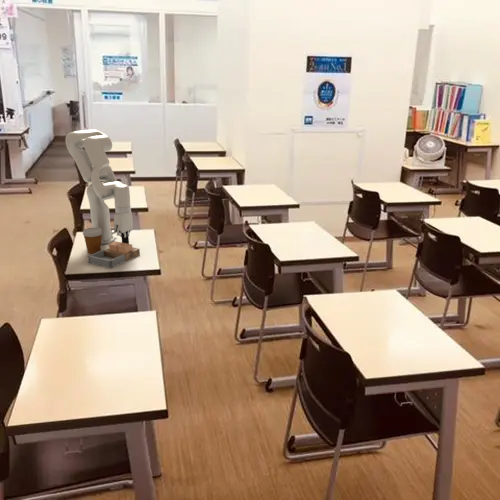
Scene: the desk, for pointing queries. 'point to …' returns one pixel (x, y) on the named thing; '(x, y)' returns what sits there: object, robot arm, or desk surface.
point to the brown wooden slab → (127, 255)
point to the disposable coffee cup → (93, 239)
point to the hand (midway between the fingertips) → (125, 244)
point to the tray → (105, 259)
